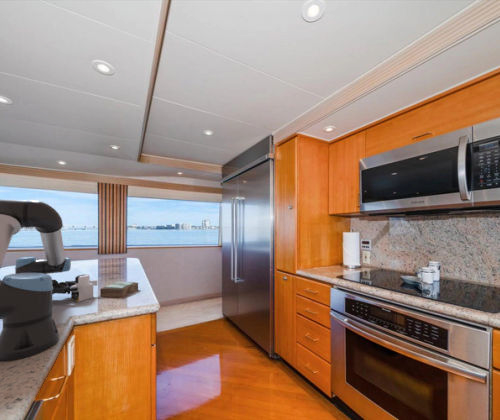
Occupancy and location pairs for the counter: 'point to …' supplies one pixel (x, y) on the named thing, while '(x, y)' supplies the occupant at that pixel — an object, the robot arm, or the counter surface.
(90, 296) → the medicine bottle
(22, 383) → the counter surface
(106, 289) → the walnut stand
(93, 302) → the counter surface
